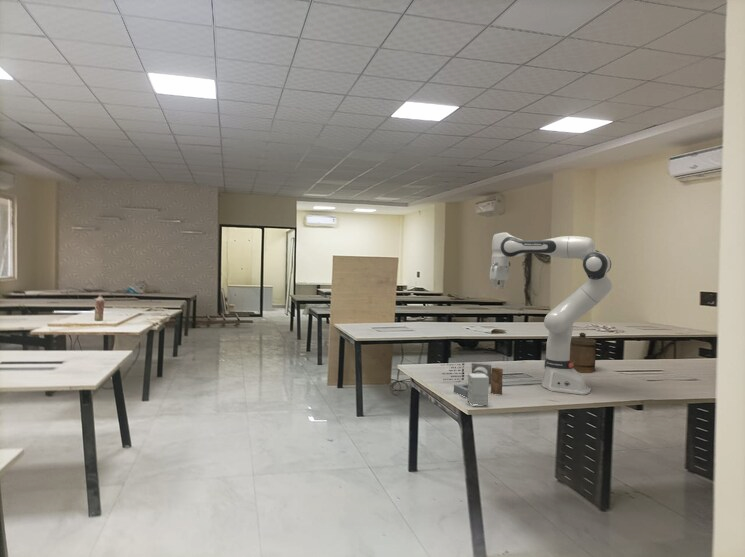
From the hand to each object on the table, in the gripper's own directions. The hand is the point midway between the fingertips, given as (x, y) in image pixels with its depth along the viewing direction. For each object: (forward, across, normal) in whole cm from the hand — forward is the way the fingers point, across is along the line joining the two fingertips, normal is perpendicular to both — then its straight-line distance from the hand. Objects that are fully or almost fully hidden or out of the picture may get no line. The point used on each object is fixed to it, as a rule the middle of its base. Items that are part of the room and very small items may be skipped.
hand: (499, 288), depth 254 cm
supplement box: (+48, -51, -10) cm, 71 cm away
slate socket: (+48, -39, -1) cm, 62 cm away
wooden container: (+48, +52, -32) cm, 78 cm away
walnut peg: (+48, -30, -11) cm, 58 cm away
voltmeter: (+48, -20, +8) cm, 53 cm away
